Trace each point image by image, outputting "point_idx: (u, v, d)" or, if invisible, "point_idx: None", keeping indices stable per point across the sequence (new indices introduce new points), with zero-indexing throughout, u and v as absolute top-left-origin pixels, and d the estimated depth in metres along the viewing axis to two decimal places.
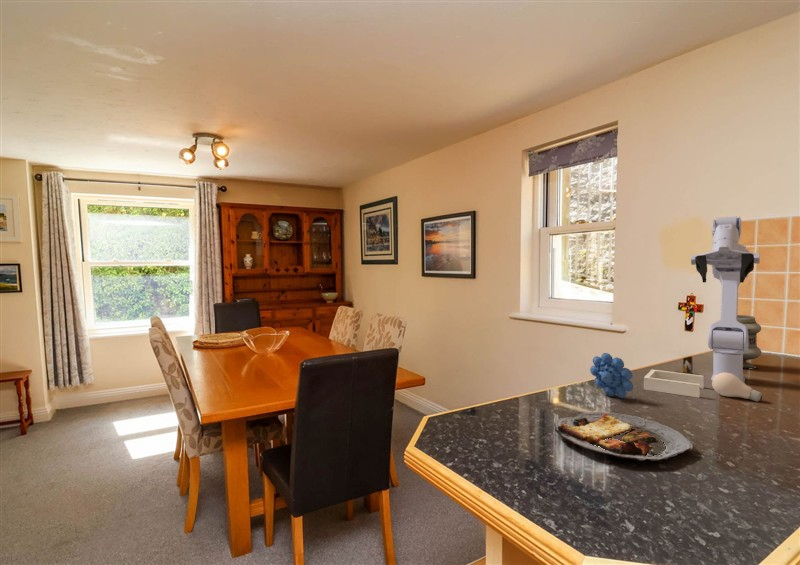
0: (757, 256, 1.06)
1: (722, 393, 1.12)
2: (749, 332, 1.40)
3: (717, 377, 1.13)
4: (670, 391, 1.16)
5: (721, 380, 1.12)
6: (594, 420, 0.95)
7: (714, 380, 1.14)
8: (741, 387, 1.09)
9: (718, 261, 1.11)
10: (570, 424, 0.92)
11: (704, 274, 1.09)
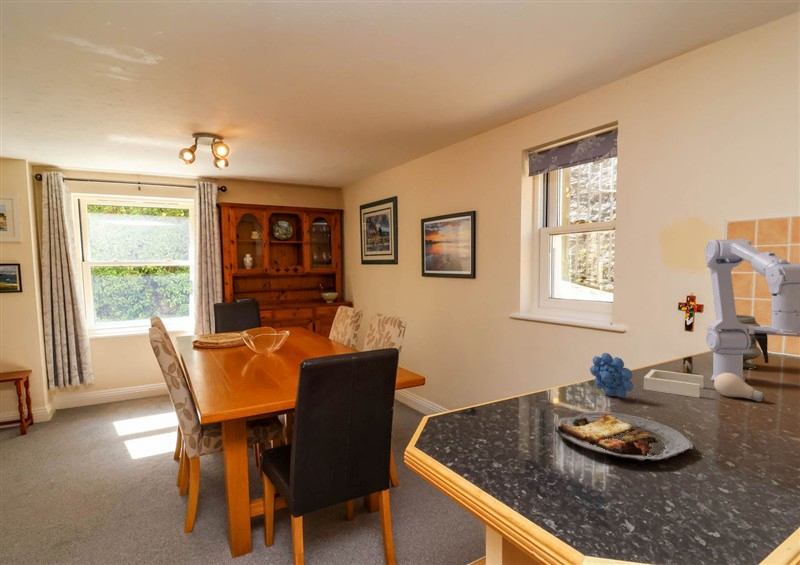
0: None
1: (724, 393, 1.12)
2: None
3: (719, 377, 1.13)
4: (670, 391, 1.16)
5: (723, 380, 1.12)
6: (594, 420, 0.95)
7: (716, 380, 1.14)
8: (743, 387, 1.09)
9: None
10: (570, 424, 0.92)
11: (767, 360, 1.06)
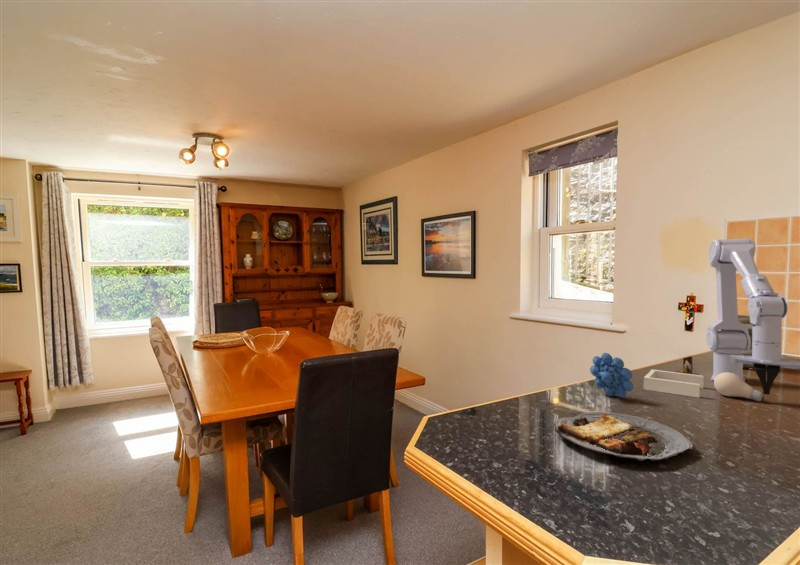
0: None
1: (723, 393, 1.12)
2: (749, 332, 1.40)
3: (719, 377, 1.13)
4: (670, 391, 1.16)
5: (722, 379, 1.12)
6: (594, 420, 0.95)
7: (716, 380, 1.14)
8: (742, 387, 1.09)
9: None
10: (570, 424, 0.92)
11: (765, 391, 1.07)
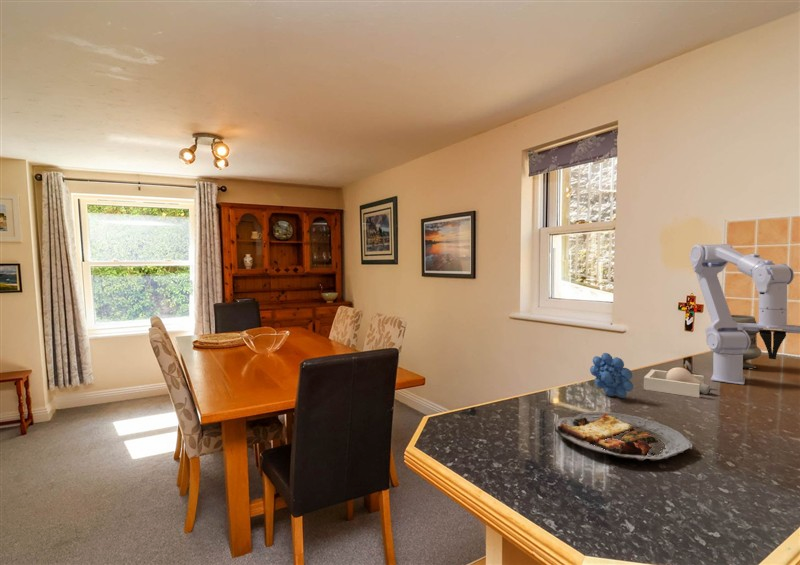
0: None
1: None
2: (749, 332, 1.40)
3: (670, 371, 1.20)
4: (670, 391, 1.16)
5: (674, 374, 1.19)
6: (594, 420, 0.95)
7: (668, 374, 1.21)
8: (691, 381, 1.16)
9: None
10: (570, 424, 0.92)
11: (771, 356, 1.11)
